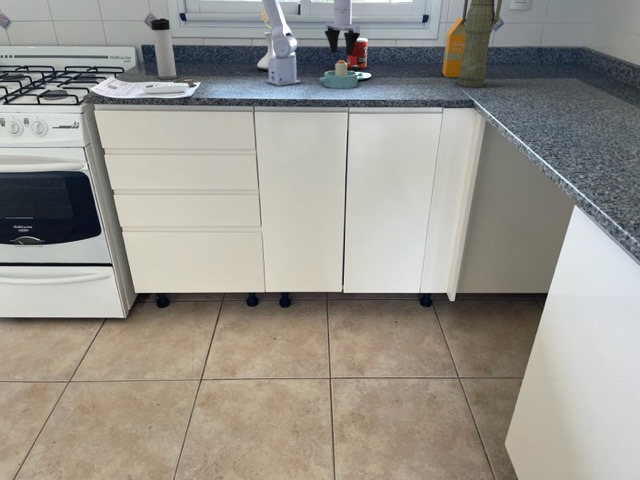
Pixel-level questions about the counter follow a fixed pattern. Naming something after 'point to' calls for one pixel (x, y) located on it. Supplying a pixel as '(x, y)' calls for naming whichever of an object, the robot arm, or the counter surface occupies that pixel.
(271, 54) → the flower in vase
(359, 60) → the canned food
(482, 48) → the thermos
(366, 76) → the lid
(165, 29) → the travel mug
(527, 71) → the counter surface
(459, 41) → the orange juice
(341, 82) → the pot
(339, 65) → the bottle
